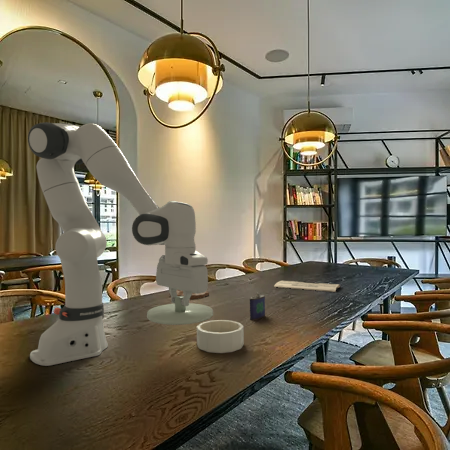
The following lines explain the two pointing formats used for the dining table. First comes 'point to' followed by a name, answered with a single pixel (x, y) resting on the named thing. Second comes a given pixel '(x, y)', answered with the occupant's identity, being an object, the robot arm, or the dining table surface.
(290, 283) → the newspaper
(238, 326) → the bowl
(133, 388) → the dining table surface
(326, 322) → the dining table surface
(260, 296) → the flask
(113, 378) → the dining table surface
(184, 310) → the lid
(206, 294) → the plant
